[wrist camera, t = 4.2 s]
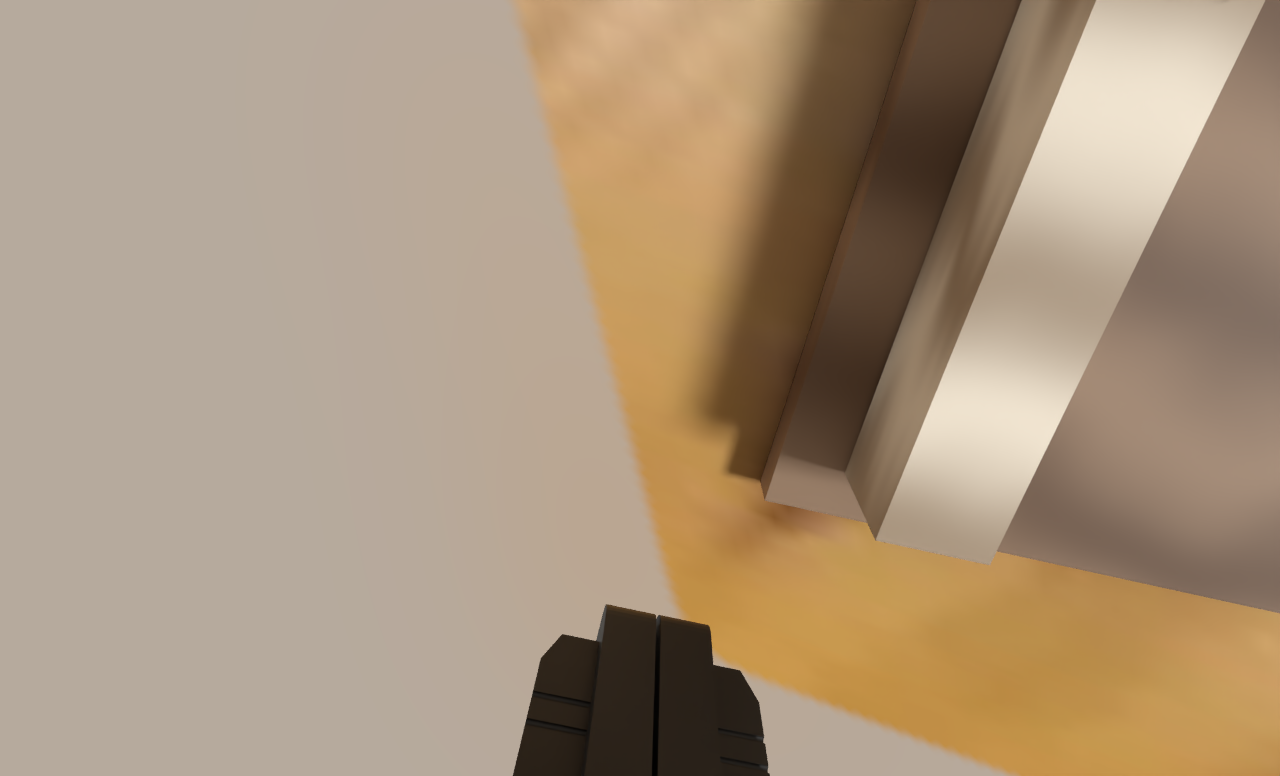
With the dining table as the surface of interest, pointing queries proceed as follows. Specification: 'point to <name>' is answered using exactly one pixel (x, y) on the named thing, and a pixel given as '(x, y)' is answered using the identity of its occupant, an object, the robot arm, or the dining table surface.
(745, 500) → the dining table surface
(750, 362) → the dining table surface
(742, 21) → the dining table surface
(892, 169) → the stool base plate
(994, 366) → the folding leg
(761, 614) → the dining table surface
